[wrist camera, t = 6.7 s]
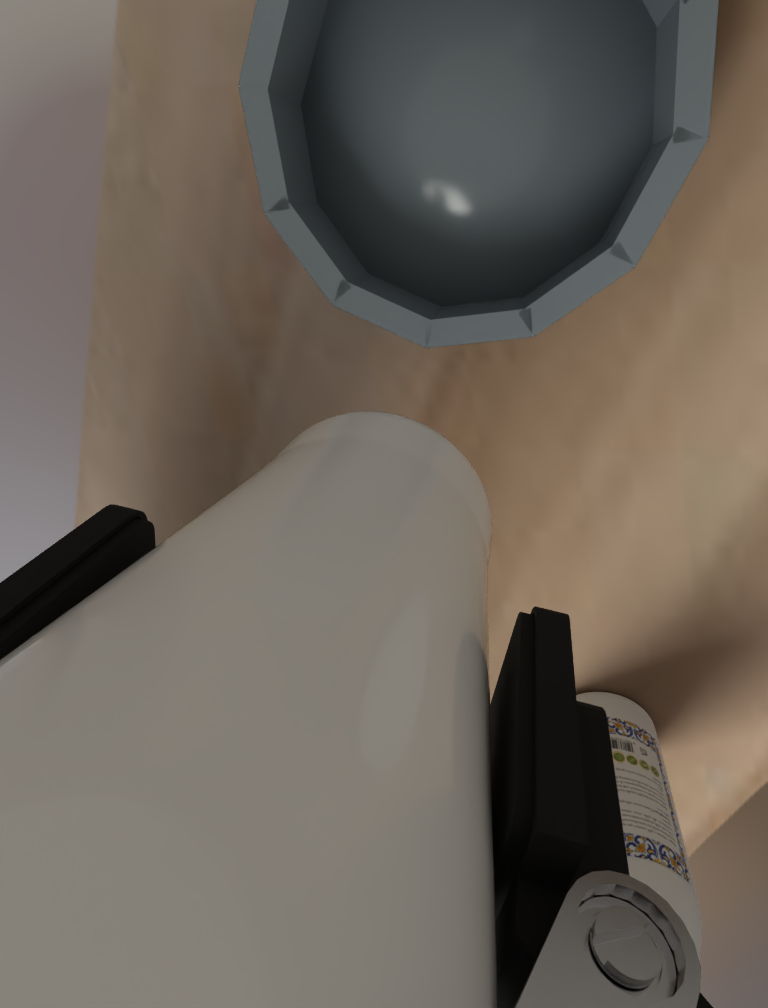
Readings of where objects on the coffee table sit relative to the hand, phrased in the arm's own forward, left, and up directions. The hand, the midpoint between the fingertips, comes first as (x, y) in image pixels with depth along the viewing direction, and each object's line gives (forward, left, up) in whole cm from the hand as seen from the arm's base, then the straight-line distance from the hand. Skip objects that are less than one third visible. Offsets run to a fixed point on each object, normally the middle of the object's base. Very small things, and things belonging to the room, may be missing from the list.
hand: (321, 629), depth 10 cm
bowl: (+6, +8, -24) cm, 26 cm away
